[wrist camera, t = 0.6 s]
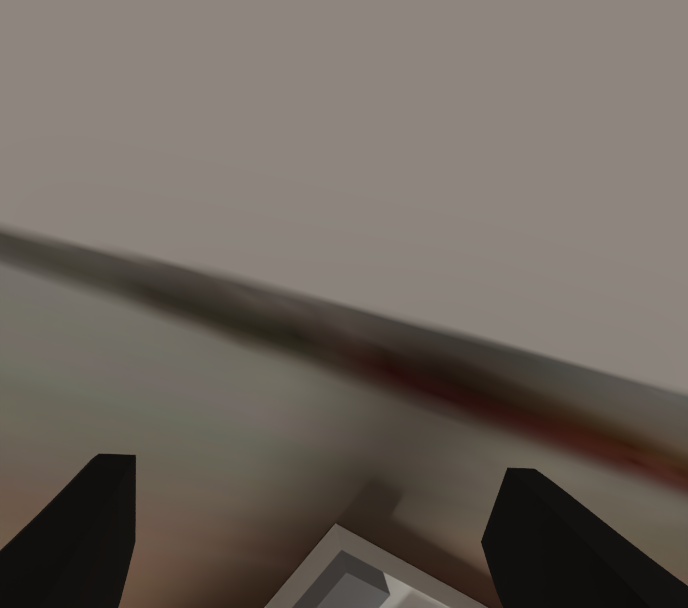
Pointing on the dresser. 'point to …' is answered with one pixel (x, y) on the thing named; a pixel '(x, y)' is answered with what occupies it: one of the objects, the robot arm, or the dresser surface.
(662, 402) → the dresser surface
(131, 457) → the robot arm
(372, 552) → the white tray
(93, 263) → the dresser surface
